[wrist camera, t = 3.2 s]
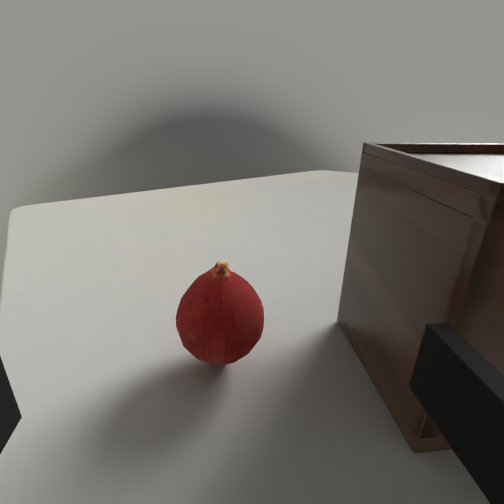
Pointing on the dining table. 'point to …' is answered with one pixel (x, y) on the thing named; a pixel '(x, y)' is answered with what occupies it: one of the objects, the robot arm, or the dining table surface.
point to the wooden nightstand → (423, 264)
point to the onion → (220, 317)
